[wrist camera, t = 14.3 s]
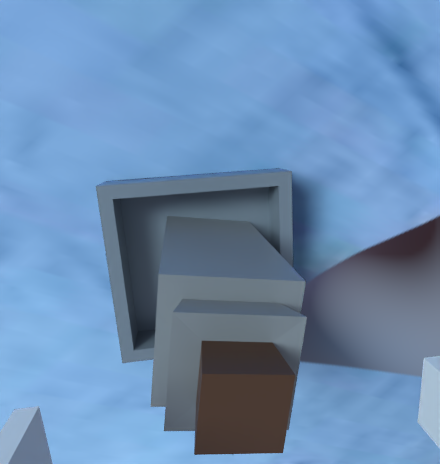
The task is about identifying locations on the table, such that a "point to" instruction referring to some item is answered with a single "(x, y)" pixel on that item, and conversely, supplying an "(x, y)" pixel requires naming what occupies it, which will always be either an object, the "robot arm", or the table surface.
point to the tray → (153, 230)
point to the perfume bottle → (226, 336)
